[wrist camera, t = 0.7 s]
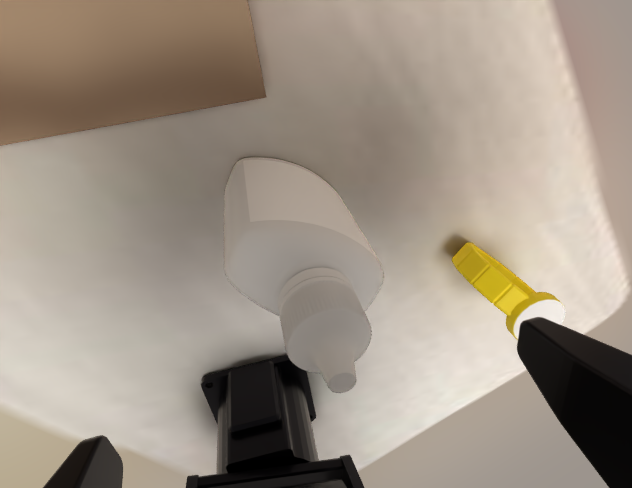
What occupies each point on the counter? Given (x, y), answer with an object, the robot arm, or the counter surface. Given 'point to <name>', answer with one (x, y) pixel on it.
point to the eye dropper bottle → (301, 263)
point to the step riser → (120, 62)
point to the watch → (506, 289)
